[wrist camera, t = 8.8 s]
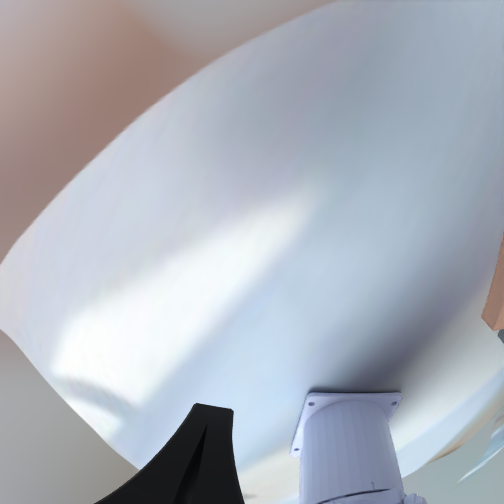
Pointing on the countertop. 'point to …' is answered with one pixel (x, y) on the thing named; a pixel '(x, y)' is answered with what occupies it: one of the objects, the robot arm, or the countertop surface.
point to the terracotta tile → (496, 296)
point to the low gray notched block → (501, 335)
